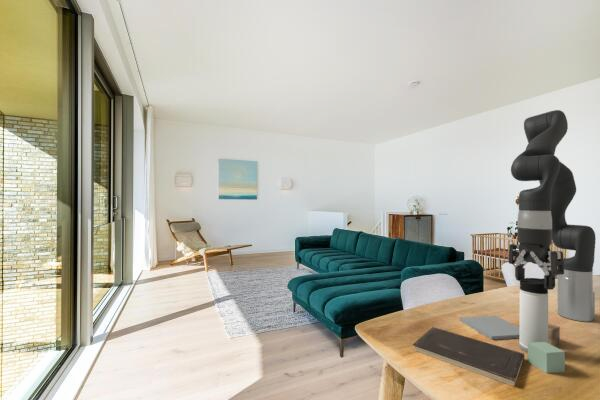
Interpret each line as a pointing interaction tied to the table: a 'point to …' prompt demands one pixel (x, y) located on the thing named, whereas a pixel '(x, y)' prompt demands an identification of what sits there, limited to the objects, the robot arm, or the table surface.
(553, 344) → the walnut block
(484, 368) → the hardcover book
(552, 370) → the sage block
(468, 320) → the slate board
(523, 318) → the travel mug
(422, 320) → the table surface
